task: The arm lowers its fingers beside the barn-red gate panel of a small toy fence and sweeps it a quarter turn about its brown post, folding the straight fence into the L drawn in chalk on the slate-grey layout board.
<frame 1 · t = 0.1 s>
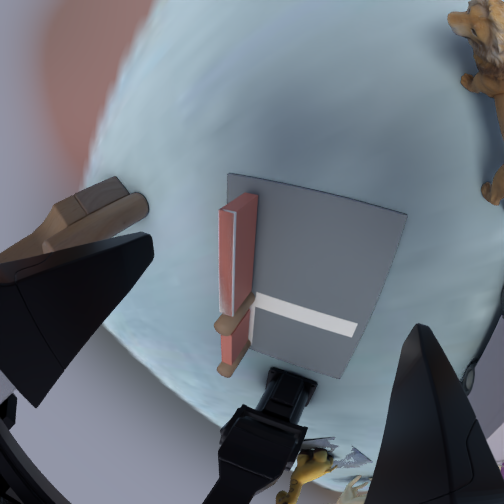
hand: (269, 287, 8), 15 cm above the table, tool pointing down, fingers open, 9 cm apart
gate panel: (237, 257, 24), point 3 cm above the table, hinge at 0.0°
unicorn: (367, 475, 43), on the table
stuffed giraffe: (323, 453, 44), on the table
fixed fence: (248, 294, 29), resting on layout board
layout board: (248, 294, 29), on the table
lion figurine: (484, 114, 12), on the table
wooden toy: (117, 222, 34), on the table
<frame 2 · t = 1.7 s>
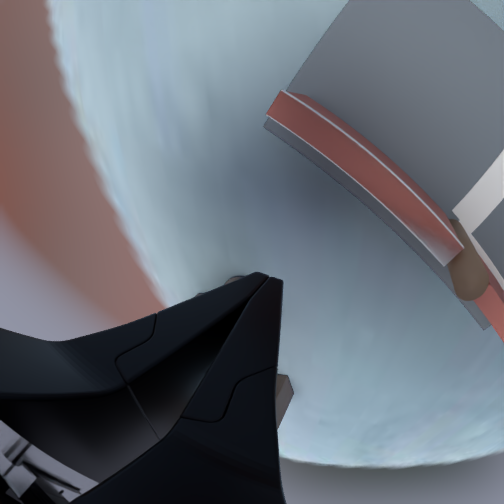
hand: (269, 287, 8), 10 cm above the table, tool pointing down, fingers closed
gate panel: (375, 167, 11), point 3 cm above the table, hinge at 0.0°
fixed fence: (449, 231, 13), resting on layout board
layout board: (449, 231, 13), on the table
wooden toy: (249, 342, 26), on the table
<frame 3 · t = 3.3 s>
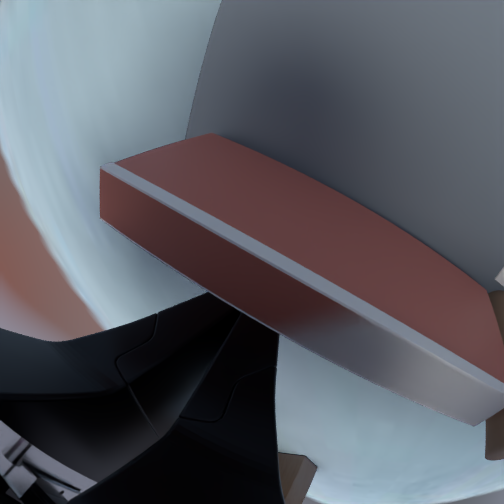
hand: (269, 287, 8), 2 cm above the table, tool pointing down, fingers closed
gate panel: (344, 261, 6), point 3 cm above the table, hinge at -1.9°, touching gripper
fixed fence: (491, 305, 7), resting on layout board
layout board: (491, 305, 7), on the table
wooden toy: (255, 429, 20), on the table
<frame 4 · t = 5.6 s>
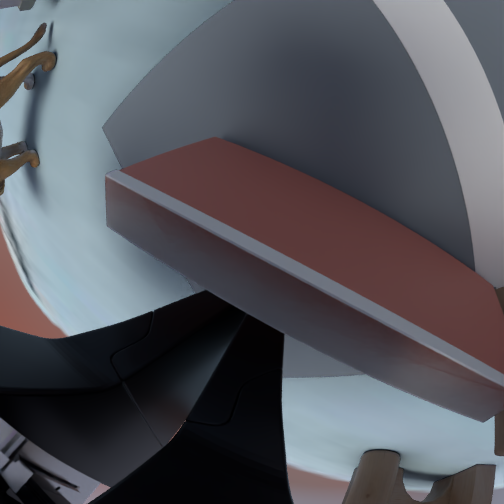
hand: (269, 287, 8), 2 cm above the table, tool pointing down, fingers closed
gate panel: (351, 262, 6), point 3 cm above the table, hinge at -47.5°, touching gripper
fixed fence: (498, 300, 7), resting on layout board
layout board: (498, 300, 7), on the table
lion figurine: (38, 125, 14), on the table
wooden toy: (425, 468, 15), on the table
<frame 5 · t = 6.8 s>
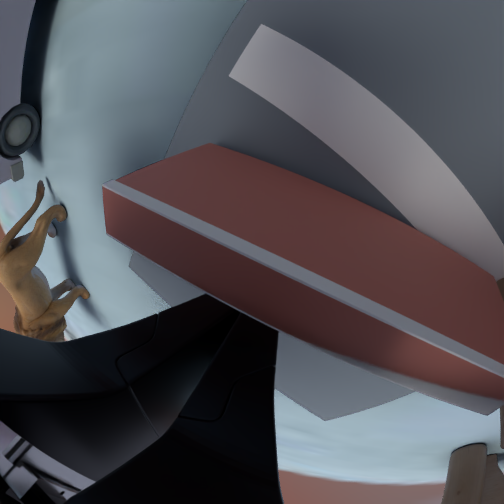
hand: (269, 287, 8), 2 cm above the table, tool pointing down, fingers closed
gate panel: (345, 259, 6), point 3 cm above the table, hinge at -71.1°, touching gripper
fixed fence: (501, 292, 7), resting on layout board
layout board: (501, 292, 7), on the table
lion figurine: (75, 264, 20), on the table
toy vehicle: (35, 37, 10), on the table
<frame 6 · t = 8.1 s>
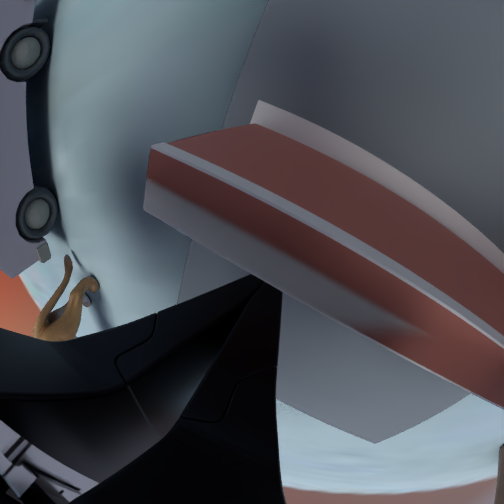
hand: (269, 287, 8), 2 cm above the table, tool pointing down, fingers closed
gate panel: (407, 259, 5), point 3 cm above the table, hinge at -88.7°
lion figurine: (114, 329, 21), on the table
toy vehicle: (34, 117, 14), on the table
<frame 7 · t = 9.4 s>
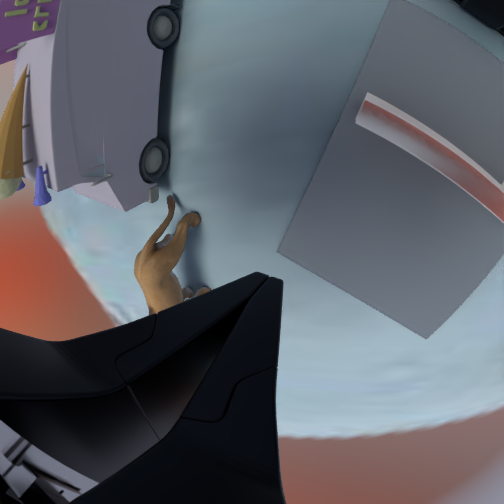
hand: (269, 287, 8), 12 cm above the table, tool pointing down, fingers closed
gate panel: (443, 158, 11), point 3 cm above the table, hinge at -88.8°
layout board: (501, 204, 12), on the table
lion figurine: (199, 268, 27), on the table
toy vehicle: (145, 84, 20), on the table
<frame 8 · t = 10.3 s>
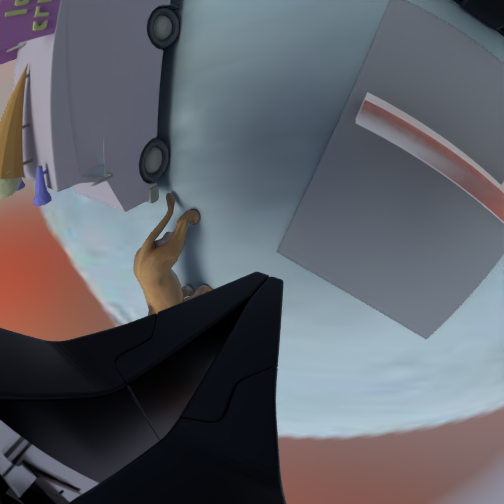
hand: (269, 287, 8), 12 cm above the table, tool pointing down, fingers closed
gate panel: (443, 158, 11), point 3 cm above the table, hinge at -88.8°
layout board: (501, 204, 12), on the table
lion figurine: (198, 266, 27), on the table
toy vehicle: (145, 84, 20), on the table
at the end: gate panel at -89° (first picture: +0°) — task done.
